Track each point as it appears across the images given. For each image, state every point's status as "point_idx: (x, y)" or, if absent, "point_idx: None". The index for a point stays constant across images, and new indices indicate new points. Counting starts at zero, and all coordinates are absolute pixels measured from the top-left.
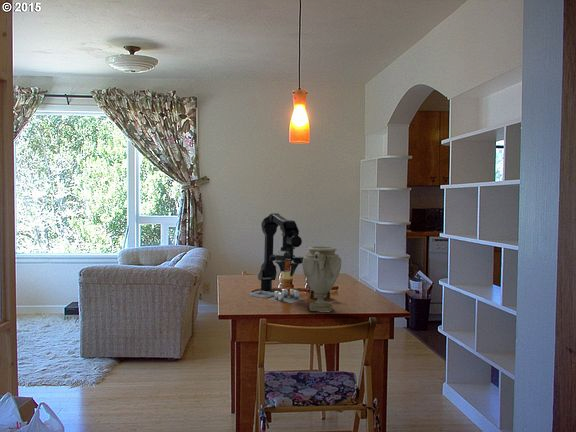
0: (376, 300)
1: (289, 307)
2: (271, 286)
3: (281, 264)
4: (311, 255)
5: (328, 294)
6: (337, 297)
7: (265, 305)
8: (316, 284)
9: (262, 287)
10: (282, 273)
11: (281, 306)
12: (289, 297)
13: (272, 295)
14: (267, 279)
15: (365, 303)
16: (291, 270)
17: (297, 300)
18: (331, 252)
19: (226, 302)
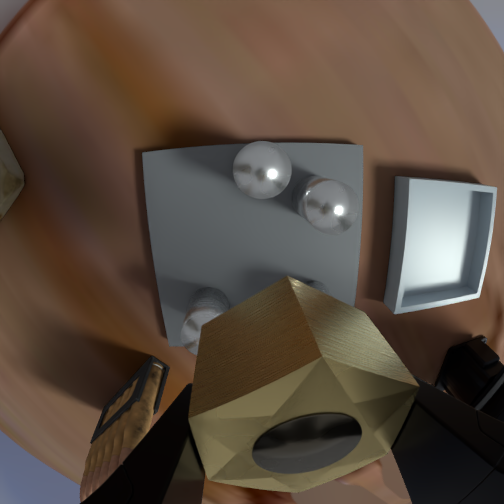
0: (33, 446)
1: (107, 80)
2: (452, 389)
3: (497, 493)
4: None
5: (98, 424)
6: None
7: (277, 19)
8: None
9: (482, 348)
10: (377, 352)
11: (166, 62)
12: None
13: (395, 269)
14: (487, 392)
15: (5, 401)
16: (156, 461)
17: (166, 265)
18: None
19: (467, 11)
